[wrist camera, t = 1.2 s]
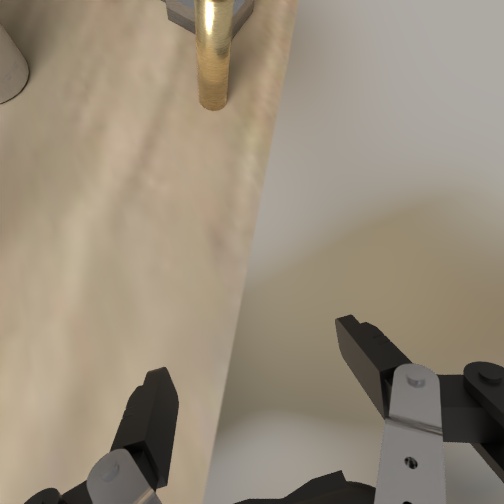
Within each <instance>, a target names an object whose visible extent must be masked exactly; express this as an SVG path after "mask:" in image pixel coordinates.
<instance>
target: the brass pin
mask: <svg viewBox="0 0 504 504" xmlns="http://www.w3.org/2000/svg"><path fill="white" fill-rule="evenodd" d="M233 6H234V0H194V11H195V30H196V50H197V69H198V89H199V101H200V103H201V105H202V106H203V107H204V108H206V109H208V110H212V111H217V110H220V109H222V108H223V107H224V106H225V105H226V102H227V89H228V75H229V61H230V47H231V34H232V20H233Z"/></svg>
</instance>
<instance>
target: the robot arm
mask: <svg viewBox="0 0 504 504" xmlns="http://www.w3.org/2000/svg"><path fill="white" fill-rule="evenodd" d="M28 74H29V70H28V65H27V62H26V60H25V58H24V57H23V55H22V54H21V52H20V51H19V50H18V48H17V47H16V45H15V44H14V42H13V41H12V40H11V38H10V37H9V35H8V34H7V32H6V31H5V29H4V28H3V27H2V25H1V23H0V103H2V102H5V101H7V100H9V99H11V98H13V97H14V96H15V95H16V94H18V93H19V92H20V91H21V89H22V88H23V87H24V86H25V84H26V82H27V79H28ZM335 324H336V331H337V337H338V343H339V348H340V351H341V354H342V356H343V358H344V360H345V361H346V363H347V365H348V366H349V368H350V369H351V370H352V372H353V374H354V375H355V377H356V378H357V380H358V381H359V383H360V384H361V386H362V387H363V389H364V390H365V392H366V393H367V395H368V396H369V398H370V399H371V401H372V402H373V404H374V405H375V407H376V408H377V410H378V411H379V413H380V414H381V415H382V417H383V419H384V420H385V425H384V432H383V439H382V448H381V455H380V462H379V470H378V478H377V486H376V488H375V487H372V486H370V485H366V484H362V483H359V482H352V481H346V480H345V478H344V475H343V473H342V470H340V471H337V472H334V473H331V474H327V475H324V476H321V477H318V478H315V479H312V480H310V481H309V482H307V483H306V484H304V485H303V486H301V487H300V488H298V489H297V490H295V491H294V492H292V493H291V494H289V495H288V496H286V497H284V498H282V499H247V500H244V501H241V502H238V503H235V504H446V490H445V471H444V452H443V442H463V443H464V442H465V443H470V444H471V445H472V446H473V447H474V448H475V449H476V451H477V452H478V453H479V454H480V455H481V457H482V458H483V459H484V460H485V461H486V463H487V464H488V465H489V466H490V467H491V468H492V470H493V471H494V472H495V473H496V474H497V476H498V477H499V478H500V479H501V480H502V482H503V483H504V368H503V367H501V366H499V365H496V364H493V363H489V362H472V363H470V364H468V365H466V366H465V368H464V375H437V374H435V373H434V372H433V371H432V370H431V369H429V368H427V367H425V366H422V365H419V364H413V363H412V362H411V361H410V360H409V359H408V358H407V357H406V356H405V355H404V354H403V353H402V352H401V351H400V350H399V349H398V348H397V347H396V346H395V345H394V344H393V343H392V342H390V340H389V339H388V338H387V337H386V336H384V334H383V333H382V332H381V331H380V330H379V329H378V328H377V327H376V326H373V325H371V324H369V323H367V322H364V323H361V324H360V323H359V322H358V321H357V320H356V319H355V317H353V315H348V316H344V317H341V318H337V319H335ZM178 408H179V401H178V395H177V392H176V389H175V387H174V384H173V382H172V380H171V377H170V375H169V372H168V370H167V368H166V367H162V368H159V369H155V370H152V371H148V372H147V374H146V377H145V380H144V384H143V385H142V386H138V387H137V388H136V389H135V391H134V392H133V393H132V395H131V396H130V398H129V400H128V403H127V406H126V410H125V411H124V414H123V419H121V422H120V425H119V428H118V430H117V433H116V436H115V439H114V441H113V444H112V447H111V450H110V452H109V453H107V454H106V455H105V456H103V457H102V458H101V459H100V460H99V461H98V462H97V463H96V464H95V465H94V467H93V468H92V470H91V471H90V473H89V475H88V478H87V480H86V481H84V482H83V483H81V484H79V485H78V486H76V487H74V488H73V489H71V490H69V491H68V492H66V493H64V494H63V495H61V494H60V493H59V492H58V490H57V489H55V488H48V489H44V490H42V491H40V492H38V493H37V494H35V495H34V496H32V497H31V498H30V499H28V500H27V501H26V502H25V503H24V504H162V503H161V501H160V500H159V498H158V497H157V495H156V489H158V488H161V487H164V486H167V483H168V476H169V469H170V463H171V456H172V449H173V442H174V436H175V429H176V422H177V415H178Z"/></svg>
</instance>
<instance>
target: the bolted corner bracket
mask: <svg viewBox="0 0 504 504" xmlns="http://www.w3.org/2000/svg"><path fill="white" fill-rule="evenodd" d="M162 1H163V2H165V3H166V6H167V13H168V19H169V20H171V21H173V22H174V23H176V24H178V25H180V26H182V27H184V28H185V29H187V30H189V31H191V32H193V33H194V34H196V30H195V11H194V0H162ZM253 4H254V0H234V6H233V20H232V34H231V39H232V38H233V37H234V35H235V34H236V33H237V31H238V30H239V29H240V28H241V26H242V25H243V24H244V22H245V21H246V20H247V18H248V17H249V16H250V14H251V13H252V12H253Z"/></svg>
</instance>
